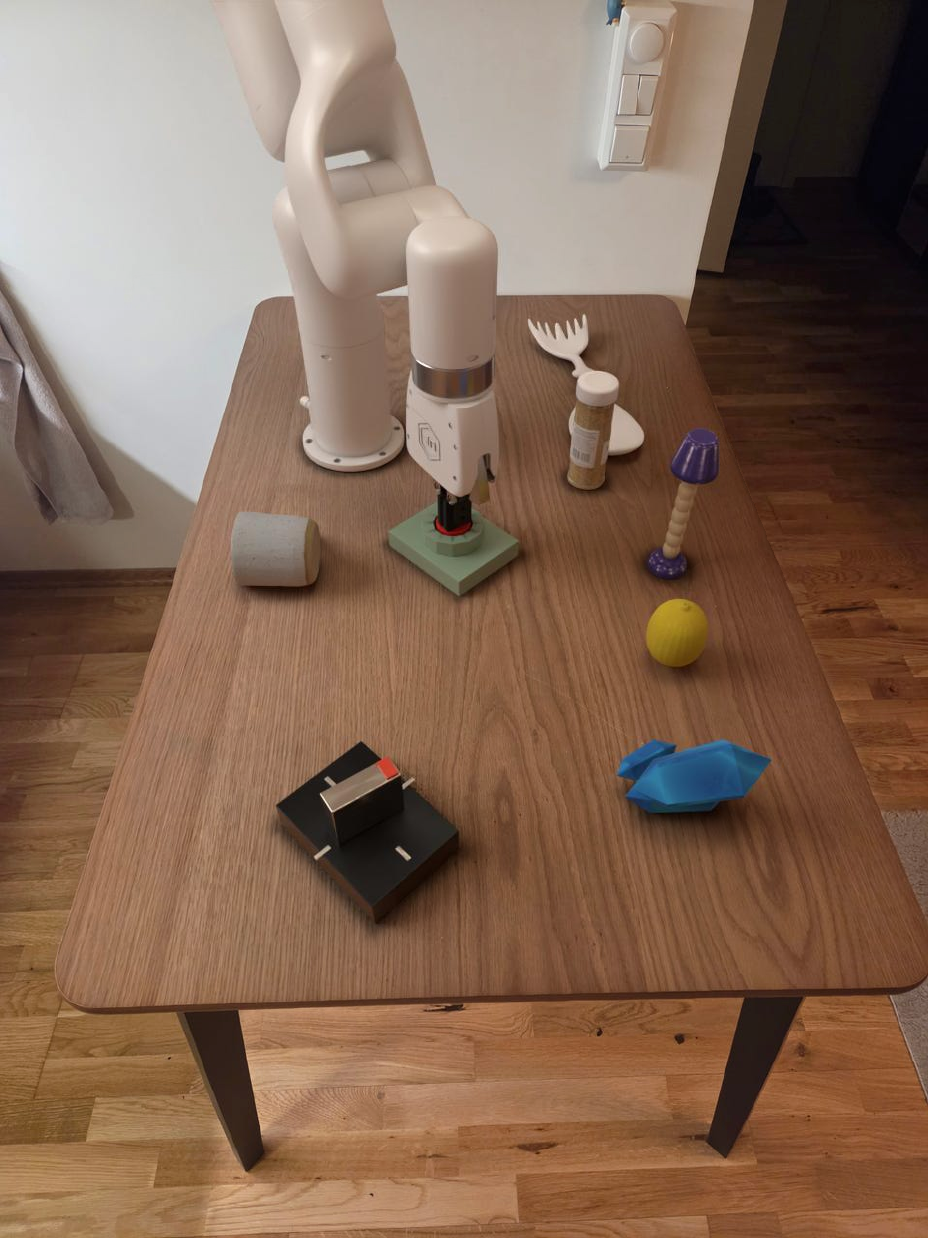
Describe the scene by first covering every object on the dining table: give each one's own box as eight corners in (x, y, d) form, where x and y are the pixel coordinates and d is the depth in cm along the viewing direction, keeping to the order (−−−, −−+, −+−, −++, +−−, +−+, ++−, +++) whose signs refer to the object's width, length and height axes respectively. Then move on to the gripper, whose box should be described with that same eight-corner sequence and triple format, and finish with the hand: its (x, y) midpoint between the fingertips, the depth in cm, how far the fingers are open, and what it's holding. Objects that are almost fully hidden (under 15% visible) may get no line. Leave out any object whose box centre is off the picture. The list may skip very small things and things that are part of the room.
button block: (389, 545, 95) (387, 517, 92) (448, 508, 99) (447, 481, 96) (459, 596, 89) (459, 569, 86) (518, 555, 94) (520, 527, 91)
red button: (429, 533, 92) (429, 521, 91) (453, 518, 94) (453, 505, 93) (452, 549, 91) (452, 537, 89) (477, 534, 92) (477, 521, 91)
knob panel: (274, 828, 71) (268, 808, 69) (369, 755, 76) (366, 735, 74) (369, 930, 65) (365, 912, 63) (464, 844, 70) (464, 824, 68)
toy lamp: (659, 545, 95) (689, 416, 83) (698, 562, 93) (735, 432, 81) (639, 569, 92) (667, 440, 80) (679, 587, 90) (714, 457, 78)
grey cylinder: (317, 601, 89) (308, 544, 83) (237, 600, 89) (223, 544, 83) (328, 534, 96) (320, 478, 90) (255, 533, 96) (242, 477, 90)
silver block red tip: (338, 846, 67) (331, 811, 63) (326, 826, 68) (318, 791, 64) (405, 808, 69) (401, 772, 65) (392, 790, 70) (388, 754, 66)
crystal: (605, 724, 70) (752, 692, 69) (615, 778, 76) (750, 750, 75) (625, 804, 65) (785, 771, 64) (634, 855, 71) (780, 826, 70)
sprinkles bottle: (612, 483, 102) (628, 383, 92) (582, 496, 101) (595, 396, 91) (587, 463, 105) (601, 364, 95) (558, 476, 103) (568, 376, 93)
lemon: (663, 691, 81) (679, 634, 75) (629, 651, 84) (641, 594, 78) (709, 670, 83) (728, 613, 77) (674, 632, 86) (690, 575, 80)
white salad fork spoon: (584, 332, 126) (586, 310, 124) (652, 463, 105) (656, 439, 102) (524, 337, 125) (525, 315, 123) (580, 470, 104) (583, 447, 101)
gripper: (375, 344, 80) (387, 499, 94) (466, 419, 72) (465, 577, 85) (442, 322, 83) (445, 475, 97) (536, 391, 75) (526, 548, 88)
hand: (454, 522), depth 91 cm, fingers closed
